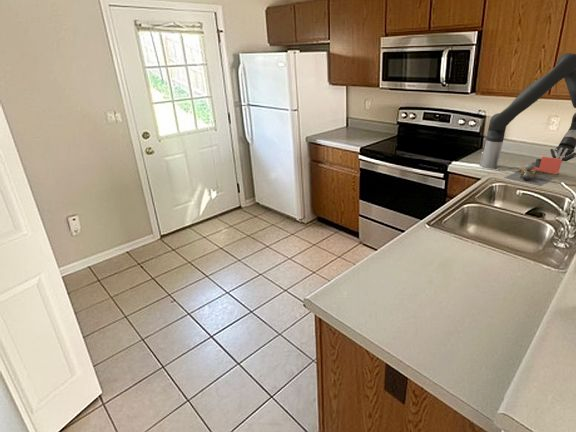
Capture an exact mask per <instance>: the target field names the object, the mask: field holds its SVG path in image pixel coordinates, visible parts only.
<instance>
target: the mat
mask: <svg viewBox="0 0 576 432" xmlns="http://www.w3.org/2000/svg"><path fill="white" fill-rule="evenodd" d="M520 174H521V171H520V170H518V171H516V172H514V173H512V174H510V175H507V176H505V177H503V179H508V180H512V181H516V182H521V183H523V184H524V183H525V184H529V185H534V186H538V187H542V186H544V185H546V184H547V183H549V182H551V181H553V180H554V179H555V177H550V176H545V175H541V174H534V178H533V180H530V181H524V180H523V178H520Z"/></svg>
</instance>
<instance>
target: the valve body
mask: <svg viewBox="0 0 576 432" xmlns="http://www.w3.org/2000/svg"><path fill="white" fill-rule="evenodd" d="M535 173H536V171H535V170H528V169H525V167H521V174H520V178H523V180H524V181H530V180H533V178H534V174H535Z"/></svg>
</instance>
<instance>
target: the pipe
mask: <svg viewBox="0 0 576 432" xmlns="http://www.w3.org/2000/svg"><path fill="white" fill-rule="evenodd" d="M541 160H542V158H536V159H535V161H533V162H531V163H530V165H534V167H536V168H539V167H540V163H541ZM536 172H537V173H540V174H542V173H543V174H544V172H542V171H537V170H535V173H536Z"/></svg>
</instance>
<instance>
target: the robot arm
mask: <svg viewBox="0 0 576 432" xmlns="http://www.w3.org/2000/svg"><path fill="white" fill-rule="evenodd" d="M562 79H564V82H565V84H566V88H567V91H568V95H569V97H570V98H569V99H570V101H571V104H572V106H573V107H572V108H574V109H576V53H573V52H568V53H564V54H562V55H561V56H560V57H559V58H558V59H557V62H556V65H555V66H554V67H553V68H551V70H550V71H548V72H547V73H546V74H544V75H543V76H542V77H540V78H538V79H536V80H535V81H533V82H532V83H531V84H529V85H528V86H526V88H525V89H523V90H522V91H521V92H520V93H519V94H518V95H517V97H515V99H513V101H512V102H511V103H510V104H509V105H508V106H507V107H506V108H505V109H503V110H501V112H498V113H495V114H494V115H492V116H491V118H490V120H489V124H488V130H487V133H486V140H485V144H484V149H483V151H482V152H481V156H480V161H479V167H482V168H483V169H488V170H496V169H497V168H498V166H499V161H500V156H501V153H502V148H503V144H504V139H505V134H506V129H507V126H508V125H509V124H510V123H512V121H513V120H514V119H515V118H516V117H518V116H519V114H521V113H522V112H524V111H525V110H527V109H528V108H529V107H531V106H532V105H533V104H534V103H537V101H538V100H539V99H541V98H542V97H543V96H544V95H545V94H547V93H548V92H549V91H550V90H552V88H553V87H554V86H555V85H556V84H557V83H559V82H560V81H561V80H562ZM559 142H560V143H559V144H558V146H556V147H555V148H551V149H550V150H549V151H550V154H551V158H557V159H562V162H568V161H570V160H572V159H575V158H576V152H575V150H576V112H574V114H573V115H572V118H571V122H570V126H569V129H568V130H567V132H566V133H565V134H564V136H563V137H562V139H561V140H560V141H559ZM556 154H557V155H556Z"/></svg>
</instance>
